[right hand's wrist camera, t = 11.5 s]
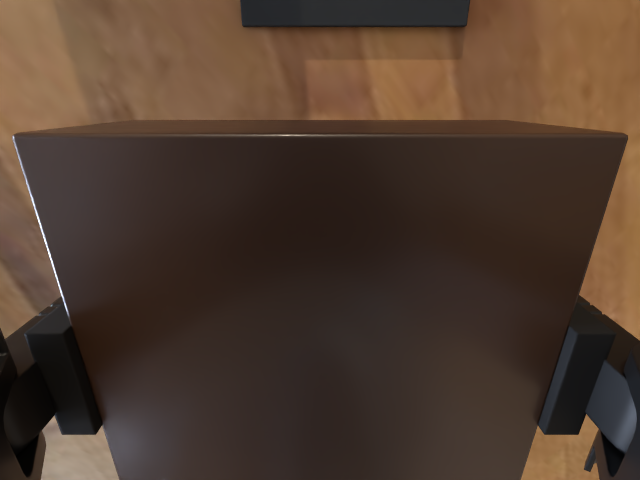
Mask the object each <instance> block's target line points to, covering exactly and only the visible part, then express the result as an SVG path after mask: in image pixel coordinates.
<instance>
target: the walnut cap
mask: <svg viewBox="0 0 640 480" xmlns="http://www.w3.org/2000/svg"><path fill="white" fill-rule="evenodd" d="M12 139H13V142H14V145H15V149H16V152H17V155H18V158H19V161H20V165H21V168H22V171H23V174H24V177H25V181H26V184H27V187H28V190H29V193H30V196H31V200H32V203H33V206H34V209H35V212H36V216H37V219H38V222H39V225H40V228H41V231H42V235H43V238H44V241H45V244H46V247H47V251H48V254H49V257H50V260H51V263H52V267H53V270H54V273H55V276H56V279H57V282H58V286H59V289H60V292H61V295H62V298H63V302H64V305H65V308H66V311H67V314H68V317H69V321H70V324H71V327H72V330H73V333H74V336H75V339H76V342H77V346H78V349H79V352H80V355H81V358H82V362H83V365H84V368H85V371H86V374H87V377H88V381H89V384H90V387H91V390H92V393H93V397H94V400H95V403H96V406H97V409H98V413H99V416H100V419H101V422H102V426H103V429H104V432H105V435H106V439H107V442H108V445H109V448H110V451H111V454H112V458H113V461H114V464H115V467H116V470H117V474H118V477H119V480H521V477H522V474H523V470H524V467H525V464H526V461H527V458H528V454H529V451H530V448H531V445H532V442H533V439H534V435H535V432H536V429H537V426H538V422H539V419H540V416H541V412H542V409H543V406H544V403H545V400H546V396H547V393H548V390H549V387H550V384H551V380H552V377H553V374H554V371H555V368H556V365H557V361H558V358H559V355H560V352H561V349H562V345H563V342H564V339H565V336H566V333H567V330H568V326H569V324H570V321H571V318H572V315H573V312H574V308H575V305H576V302H577V299H578V296H579V292H580V289H581V286H582V283H583V280H584V277H585V273H586V270H587V267H588V264H589V261H590V258H591V254H592V251H593V248H594V245H595V242H596V238H597V235H598V232H599V229H600V226H601V223H602V219H603V216H604V213H605V210H606V207H607V204H608V200H609V197H610V194H611V191H612V188H613V184H614V181H615V178H616V175H617V172H618V169H619V165H620V162H621V159H622V156H623V153H624V150H625V146H626V143H627V140H628V135H626V134H624V133H618V132H609V131H600V130H591V129H582V128H573V127H563V126H554V125H545V124H536V123H527V122H518V121H508V120H131V121H121V122H112V123H103V124H94V125H85V126H76V127H66V128H57V129H48V130H39V131H30V132H21V133H16V134H14V135H13V137H12Z"/></svg>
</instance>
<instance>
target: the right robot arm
mask: <svg viewBox="0 0 640 480" xmlns="http://www.w3.org/2000/svg"><path fill="white" fill-rule="evenodd" d="M586 414H587V415H588V416H589V418H590V419H591V420H592V421H593V422H594V423H595V425H596V426H597V427H598V428H599V430H598V432H597V435H596V437H595V439H594V442H593V444H592V447H591V449H590V452H589V454H588V457H587V459H586V462H585V467H584V470H586V471H589V472H590V471H591V469H592V467H593V464H594V463H597V467H598V473H599V479H600V480H640V341H639V340H638V339H637V338H635V337H634V336H633V335H631V334H630V333H629V332H627V331H626V330H625V329H623V328H622V327H621V326H619V325H618V324H617V323H615V322H614V321H613V320H612V319H610V318H609V317H608V316H606V315H605V314H602V312H601V311H600V310H598V309H597V308H596V307H594V306H593V305H590V303H589V302H588V301H586V300H585V299H584V298H582V297H581V296H580V295H579V296H578V299H577V302H576V305H575V308H574V312H573V315H572V318H571V321H570V324H569V326H568V330H567V333H566V336H565V339H564V342H563V345H562V349H561V352H560V355H559V358H558V361H557V365H556V368H555V371H554V374H553V377H552V380H551V384H550V387H549V390H548V393H547V396H546V400H545V403H544V406H543V409H542V412H541V416H540V419H539V422H538V426H539V427H540V429H541V430H542V432H543V433H544V435H578V434H579V432H580V429H581V426H582V424H583V421H584V418H585V416H586ZM54 415H55V418H56V420H57V423H58V425H59V428H60V431H61V433H62V435H96V434H97V432H98V431H99V429H100V428H101V426H102V422H101V419H100V416H99V413H98V409H97V406H96V403H95V400H94V397H93V393H92V390H91V387H90V384H89V381H88V377H87V374H86V371H85V368H84V365H83V362H82V358H81V355H80V352H79V349H78V346H77V342H76V339H75V336H74V333H73V330H72V327H71V324H70V321H69V317H68V314H67V311H66V308H65V305H64V302H63V298H62V296H61V297H60V298H59V299H57V300H56V301H55V302H53V303H52V304H51V307H47V308H46V309H44V310H43V311H42V312H40V313H39V316H35V317H34V318H32V319H31V320H30V321H29V322H27V323H26V324H25V325H23V326H22V327H21V328H19V329H18V330H17V331H15V332H14V333H13V334H11V335H10V336H9V337H8V338H6V339H4V336H3V334H2V331H1V329H0V480H41V474H42V468H43V462H44V455H45V449H46V442H45V437H44V435H43V432H42V429H43V428H44V427H45V426H46V425H47V423H48V422H49V421H50V420H51V419H52V417H53V416H54Z"/></svg>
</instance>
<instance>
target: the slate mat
mask: <svg viewBox="0 0 640 480" xmlns="http://www.w3.org/2000/svg"><path fill="white" fill-rule="evenodd" d="M240 1H241V15H242V26H243V27H464V26H466V25H467V18H468V11H469V4H470V0H240Z"/></svg>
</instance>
